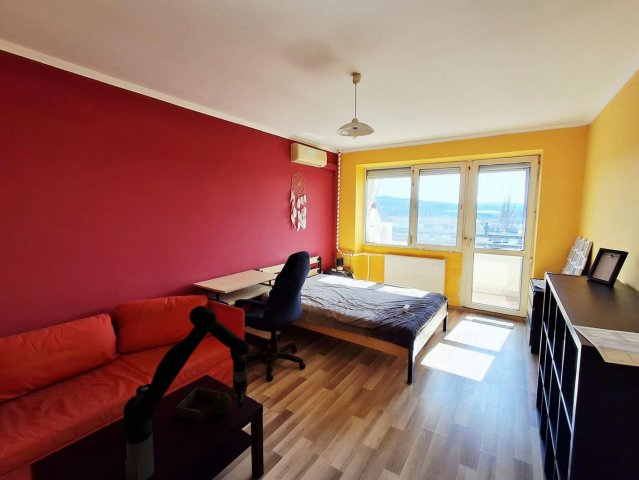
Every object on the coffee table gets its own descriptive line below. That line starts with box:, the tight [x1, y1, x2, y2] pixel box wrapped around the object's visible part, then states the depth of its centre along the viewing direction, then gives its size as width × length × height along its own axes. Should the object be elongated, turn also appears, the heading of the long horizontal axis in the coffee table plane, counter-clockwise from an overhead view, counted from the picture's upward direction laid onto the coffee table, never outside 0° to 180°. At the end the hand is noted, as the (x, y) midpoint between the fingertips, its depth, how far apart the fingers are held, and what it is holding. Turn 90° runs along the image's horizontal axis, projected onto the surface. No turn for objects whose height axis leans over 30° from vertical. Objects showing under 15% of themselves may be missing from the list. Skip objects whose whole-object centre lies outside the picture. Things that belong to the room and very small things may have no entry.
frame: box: [174, 387, 220, 422], centre depth 164 cm, size 18×14×5 cm
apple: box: [211, 392, 232, 416], centre depth 160 cm, size 10×10×11 cm
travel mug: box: [135, 383, 155, 427], centre depth 149 cm, size 8×8×20 cm
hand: (240, 407), depth 158 cm, fingers closed
